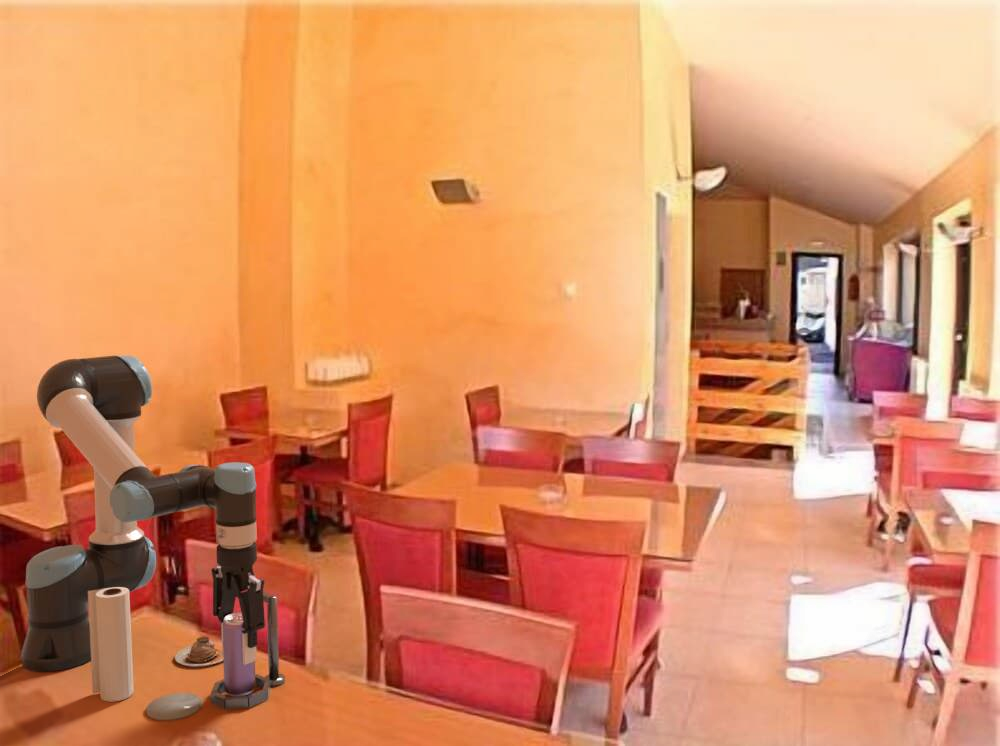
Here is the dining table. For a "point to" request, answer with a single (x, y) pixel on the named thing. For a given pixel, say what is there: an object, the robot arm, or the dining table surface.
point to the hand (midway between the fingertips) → (239, 657)
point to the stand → (260, 681)
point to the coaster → (173, 706)
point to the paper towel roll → (111, 643)
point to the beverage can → (236, 658)
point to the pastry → (198, 653)
